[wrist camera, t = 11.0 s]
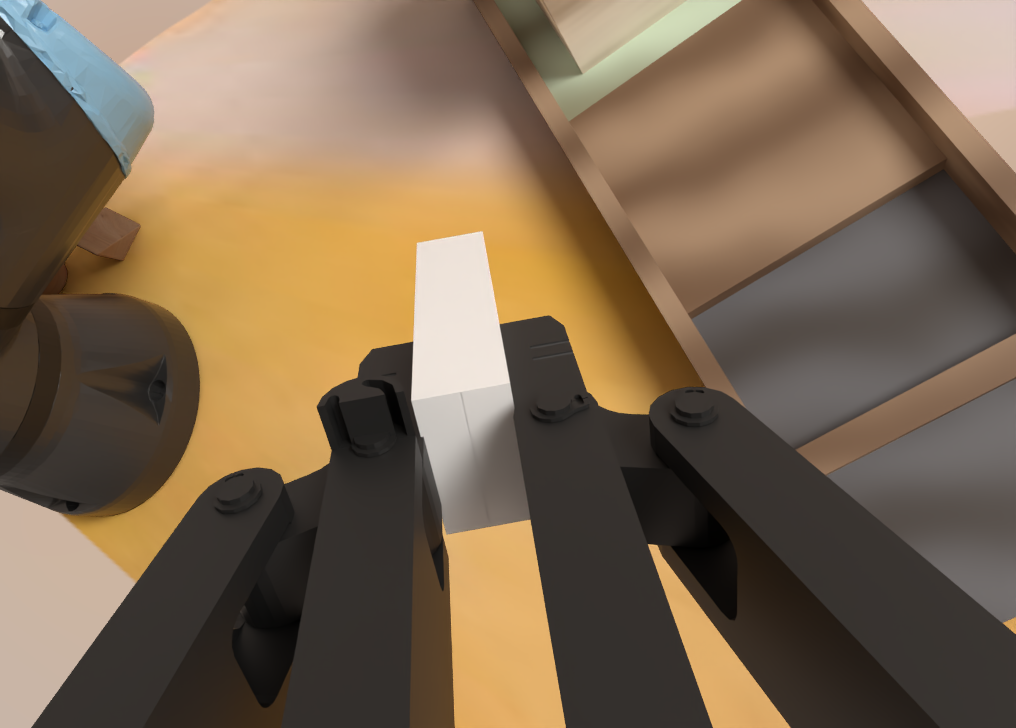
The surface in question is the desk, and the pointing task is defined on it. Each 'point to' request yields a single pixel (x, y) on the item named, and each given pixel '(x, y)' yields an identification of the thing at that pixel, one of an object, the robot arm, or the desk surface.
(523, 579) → the desk surface
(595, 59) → the birch block
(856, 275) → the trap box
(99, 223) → the wooden block set
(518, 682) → the desk surface
